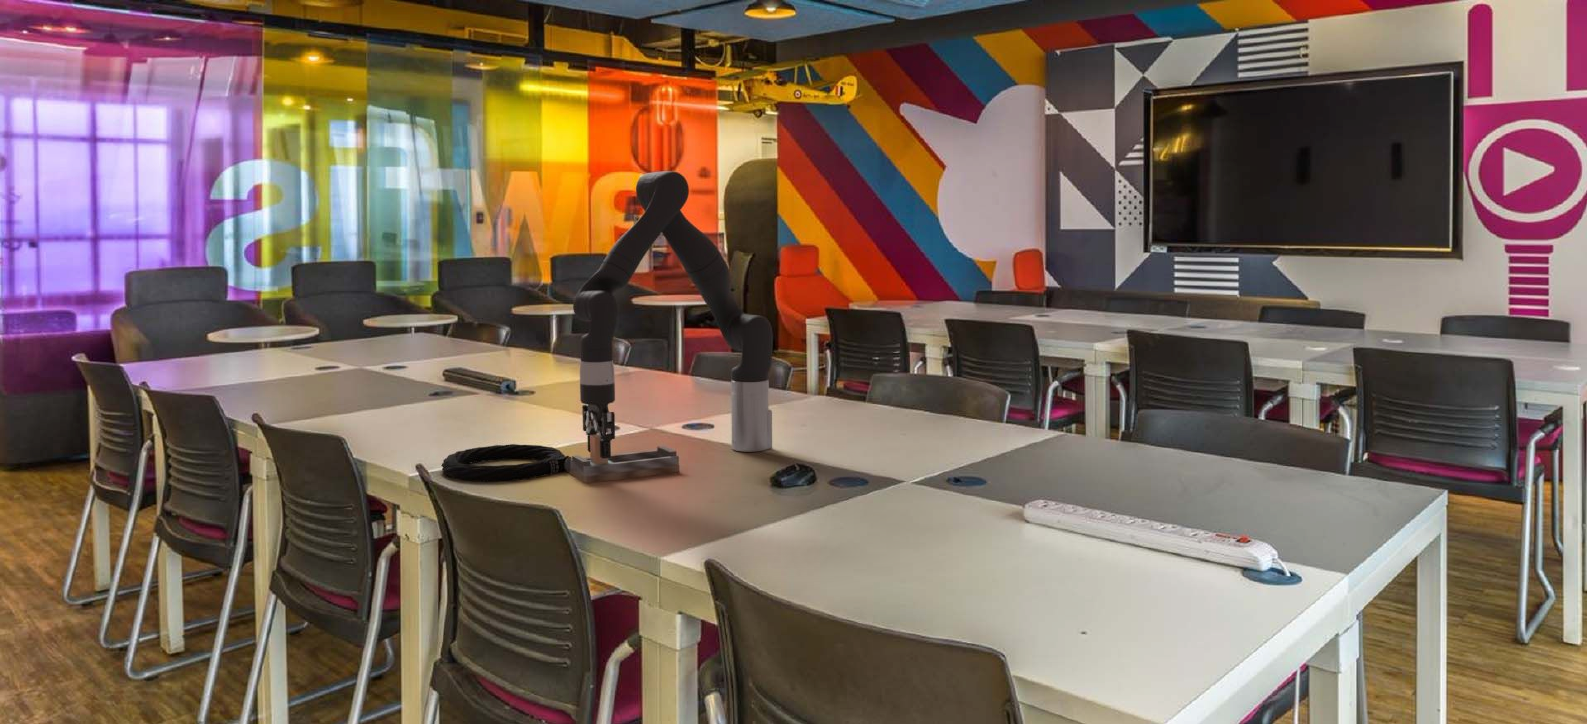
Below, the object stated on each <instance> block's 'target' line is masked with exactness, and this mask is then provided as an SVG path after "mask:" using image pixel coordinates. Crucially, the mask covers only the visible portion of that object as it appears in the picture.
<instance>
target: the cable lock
mask: <svg viewBox="0 0 1587 724" xmlns="http://www.w3.org/2000/svg"><path fill="white" fill-rule="evenodd" d="M508 459H509V460H510V459H511V460H512V459H514V460H524V459H525V460H533V461H532V462H524V463H518V464H501V465H476V464H475V465H474V464H473V463H480V462H487V461H494V460H498V461H499V460H508ZM570 459H572V456H570V455H565V454H564V453H563V452H562V451H561V450H560V449H557V448H555V447H552V446H551V447H550V446H544V445H536V444H534V445H533V444H515V443H513V444H504V445H503V444H501V445H499V444H495V445H490V446H482V447H481V446H477V447H474V448H468V449H465V450H458V451H456V452H454V453H451V454H449V455H448V456H447V457H446V458H444V459H443V461H442V463H441V467H442V468H441V470H442V471H443V473H444V474H445V475H446V476H449V477H452V478H453V479H455V480H463V481H468V482H506V481H507V482H509V481H518V480H519V481H520V480H526V479H533V478H539V477H540V478H541V477H542V476H546V475H549V476H551V475H555V474H558V473H559V474H564V473H570V468H571V463H570ZM534 460H536V461H534Z"/></svg>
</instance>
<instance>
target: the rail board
mask: <svg viewBox="0 0 1587 724" xmlns="http://www.w3.org/2000/svg"><path fill="white" fill-rule="evenodd" d="M656 448H657V449H652V450H642V451H636V452H635V451H634V452H633V451H632V452H624V453H616V454H611V457H610V458H608V460H609V461H611V462H613V463H608V464H599V465H591V466H590V461H589V460H591V459H590V456H588V457H583V456H581V455H579V454H576V455H572V456H571V458H572V459H570V463H571V468H570V472H569V473H570V476H571V477H574V478H576V479H578V480H579V481H581V482H583V483H584V484H593V483H600V482H608V481H615V480H616V481H618V480H625V479H632V478H642V477H650V476H657V475H665V474H666V475H667V474H674V473H680V457H679V456H678V455H677V450H675V449H671V448H670V447H667V446H664V445H661V446H659V445H658V446H656Z"/></svg>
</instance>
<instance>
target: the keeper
mask: <svg viewBox="0 0 1587 724" xmlns="http://www.w3.org/2000/svg"><path fill="white" fill-rule="evenodd" d="M589 453H590V455H589V457H590V459H591V460H589V461H590V466H591V465H599V464H608V463H613V462H611V461H609V460H608V458H604V459H603V458H601V457H600V439H599V435H598V434H596V435H590V452H589Z"/></svg>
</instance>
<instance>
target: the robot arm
mask: <svg viewBox="0 0 1587 724" xmlns="http://www.w3.org/2000/svg"><path fill="white" fill-rule="evenodd" d="M689 189H690V188H689V184H688V181H687V179H686V177H685V176H684V175H682V174H681V173H680V172H678V171H675V170H666V171H665V170H664V171H654V172H647V173H644V174H642V175H641V176H640V177H639V178H638V180H637V182H636V186H635V193H636V194H635V195H636V198H637V201H638V203H639V205H640V206H641V208H642V209H643V211H644V212H643V214H642V215H641V216H640V217H639V218H638V220H636V222H635V223H634V224H633V225H632V226H631V227H629V229H628V230H627V231H626V232H624V234H622V235H621V236H620V237H619V238H618V240H617V241H616V242H614V244H613V246H611V249H609V251H608V253H607V254H606V257H605V258H604V259H603V261H602V263H601V265H600V267H599V269H598V270H597V271H596V272H594V273H593V274H592V275H591V276H590V277H589V278H588V280H587V281H586V282H585V283H584V284H583V285H582V286H581V287H580V288H579V290H578V292H577V293H576V295H575V297H574V300H573V305H572V310H573V313H574V315H575V317H576V318H577V319H579V320H580V321H583V322H588V323H590V324H589V330H588V333H586V334H584V335H583V334H582V336H581V338H580V342H579V348H580V349H579V350H580V351H579V352H580V353H579V354H580V366H579V394H580V395H579V396H580V398H579V399H580V401H579V402H581V403H582V407H581V410H582V430H583V432H585V435H586V436H587V451H588V452H589V453H590V435H596V434H598V435H599V439H600V457H601V458H603V459H604V458H610V457H611V455H612V451H611V450H612V449H611V441H612V440H615V438H616V417H615V412H614V411H610V410H609V405H610V404H612V403H614V402H615V401H616V388H615V387H616V384H615V382H616V381H615V378H616V377H615V366H614V349H613V348H614V344H613V340H614V337H615V333H616V328H617V323H618V319H619V304H618V301H617V299H616V297H615V295H614V293H616V292H617V291H620V290H623V289H625V287H626V286H627V285H628V284H629V282H630V280H631V279H632V277H633V275H634V274H635V272H636V271H637V268H638V267H639V265H640V263H641V262H642V261H643V259H644V257H645V256H646V254H647V253H648V251H649V250H650V248H651V247H652V245H653V244H654V243H655V241H657V239H658V238H659V237H660V235H661V234H662V236H663V237H664V238H665V240H666V242H667V244H668V245H669V247H670V248H671V250H672V251H673V253H674V254H675V256H676V257H677V259H678V260H679V263H680V264H681V266H682V267H683V269H684V271H685V273H686V274H687V275H688V277H689V278H690V281H691V282H692V283H693V285H694V286H695V287H696V289H697V291H698V293H699V294H700V296H701V298H702V299H703V301H704V302H705V305H706V306H707V308H708V309H709V310H710V313H711V314H712V317H713V318H714V321H715V323H716V324H717V327H718V329H719V331H720V333H721V336H722V338H723V339H724V341H725V342H726V344H727V345H728V346H729V347H730V348H731V349H733V350H735V351H738V352H742V353H741V361H740V362H739V364H738V365H737V366H734V367H732V368H731V371H730V393H731V394H730V396H731V397H730V399H731V400H730V401H731V407H730V408H731V413H730V414H731V416H730V417H731V419H730V420H731V449H732V450H734V451H738V452H743V453H744V452H746V453H747V452H749V453H751V452H754V453H755V452H762V451H767V450H770V449H773V410H772V409H769V407H770V406H769V405H770V402H769V400H770V397H769V394H770V393H769V385H770V384H769V376H770V375H769V374H770V371H771V369H772V364H773V346H774V343H773V341H774V340H773V339H774V338H773V333H774V332H773V329H772V325H771V322H770V320H768V318H766V317H765V316H763V315H759V314H758V315H756V314H748V313H745V312H744V311H743V310H742V308H741V307H740V306H739V304H738V302H737V301H736V299H735V297H734V295H733V293H732V287H731V274H730V268H729V266H728V263H727V262H726V260H725V259H724V257H723V255H722V253H721V252H720V250H719V248H718V247H717V245H716V244H715V242H713V240H712V239H710V238H709V236H707V235H706V234H704V233H703V232H702V230H700V229H698V228H697V227H696V226H695V225H694V224H693V223H692V222H690V221H689V219H687V218H686V216H685V215H684V213H683V212H682V209H683V207H684V206H685V204H686V203H687V202H688V198H689V192H690V190H689Z"/></svg>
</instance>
